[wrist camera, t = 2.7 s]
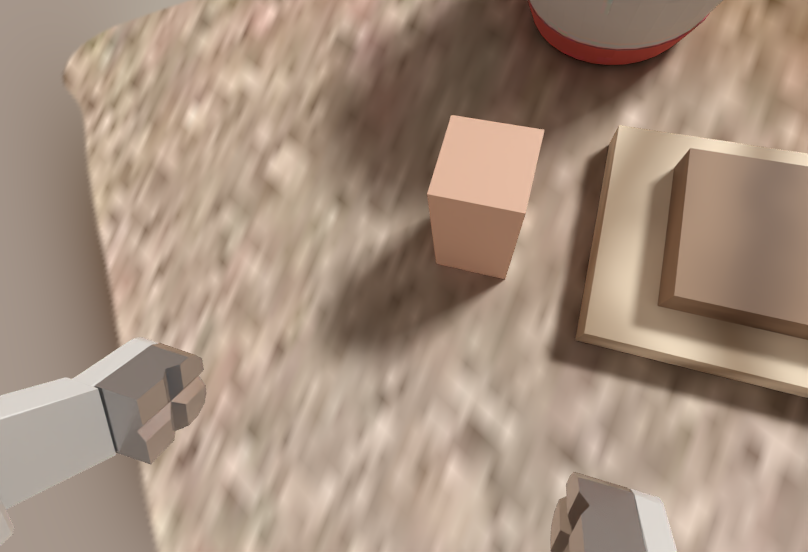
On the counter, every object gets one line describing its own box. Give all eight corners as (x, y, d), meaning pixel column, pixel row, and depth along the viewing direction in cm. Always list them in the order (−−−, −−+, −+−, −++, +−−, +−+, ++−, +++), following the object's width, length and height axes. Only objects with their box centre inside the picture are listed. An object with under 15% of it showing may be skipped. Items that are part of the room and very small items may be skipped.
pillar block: (519, 217, 29) (544, 129, 21) (505, 279, 28) (525, 213, 19) (453, 203, 30) (451, 114, 21) (436, 263, 29) (427, 193, 20)
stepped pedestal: (882, 188, 27) (952, 148, 23) (892, 419, 23) (978, 417, 19) (609, 144, 30) (630, 103, 26) (575, 340, 26) (594, 325, 22)
